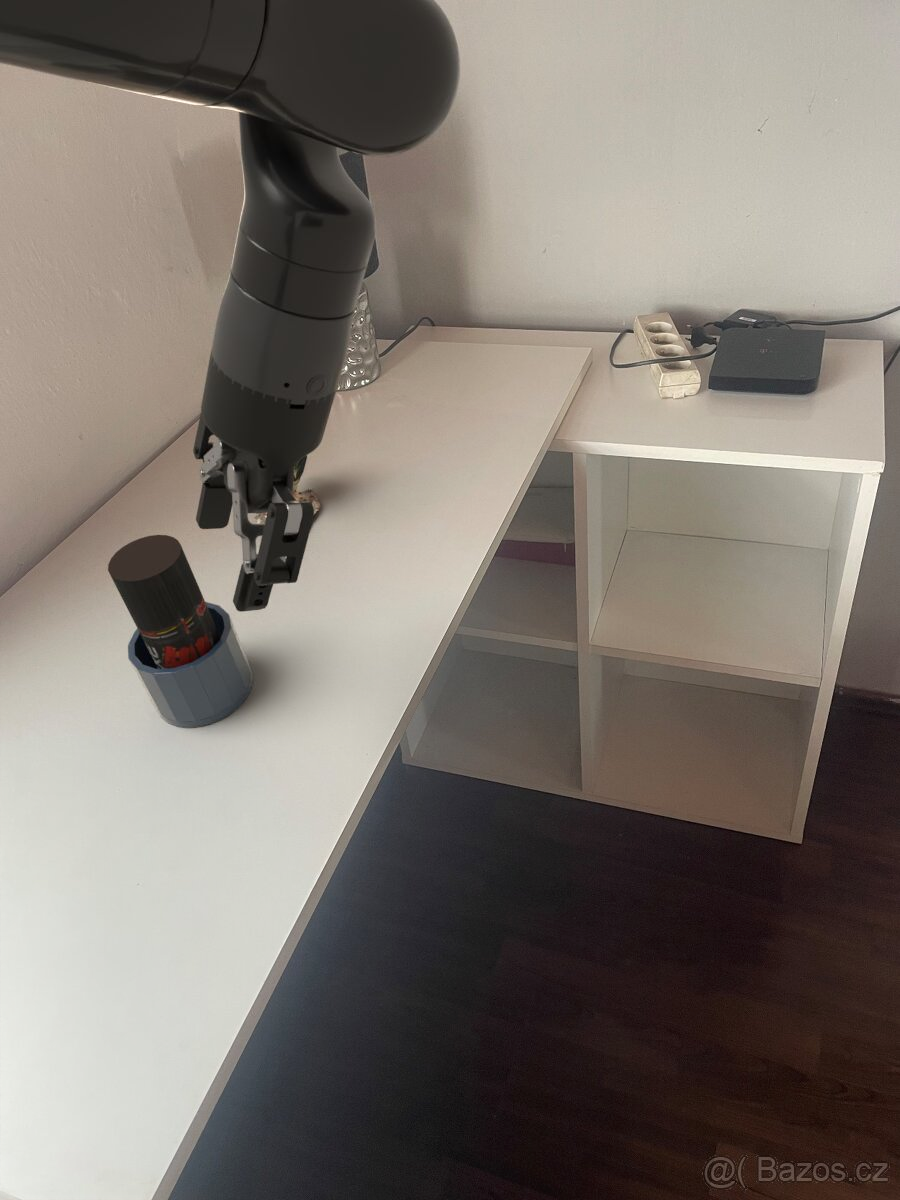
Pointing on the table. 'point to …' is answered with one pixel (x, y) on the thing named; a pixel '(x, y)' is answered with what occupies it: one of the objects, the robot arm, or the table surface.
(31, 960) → the table surface
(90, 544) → the table surface
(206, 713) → the holder
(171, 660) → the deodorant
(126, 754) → the table surface
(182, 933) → the table surface
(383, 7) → the robot arm
